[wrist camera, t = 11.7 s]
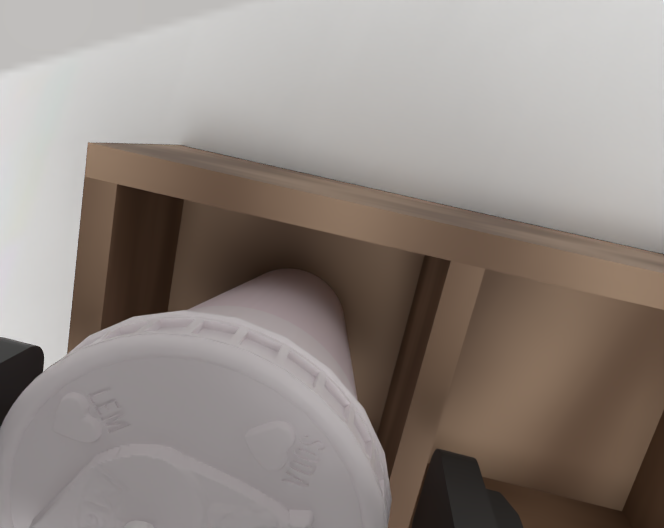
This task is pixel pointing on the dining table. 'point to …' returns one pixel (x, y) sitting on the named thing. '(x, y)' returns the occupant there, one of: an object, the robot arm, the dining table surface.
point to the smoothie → (201, 421)
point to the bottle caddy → (413, 320)
